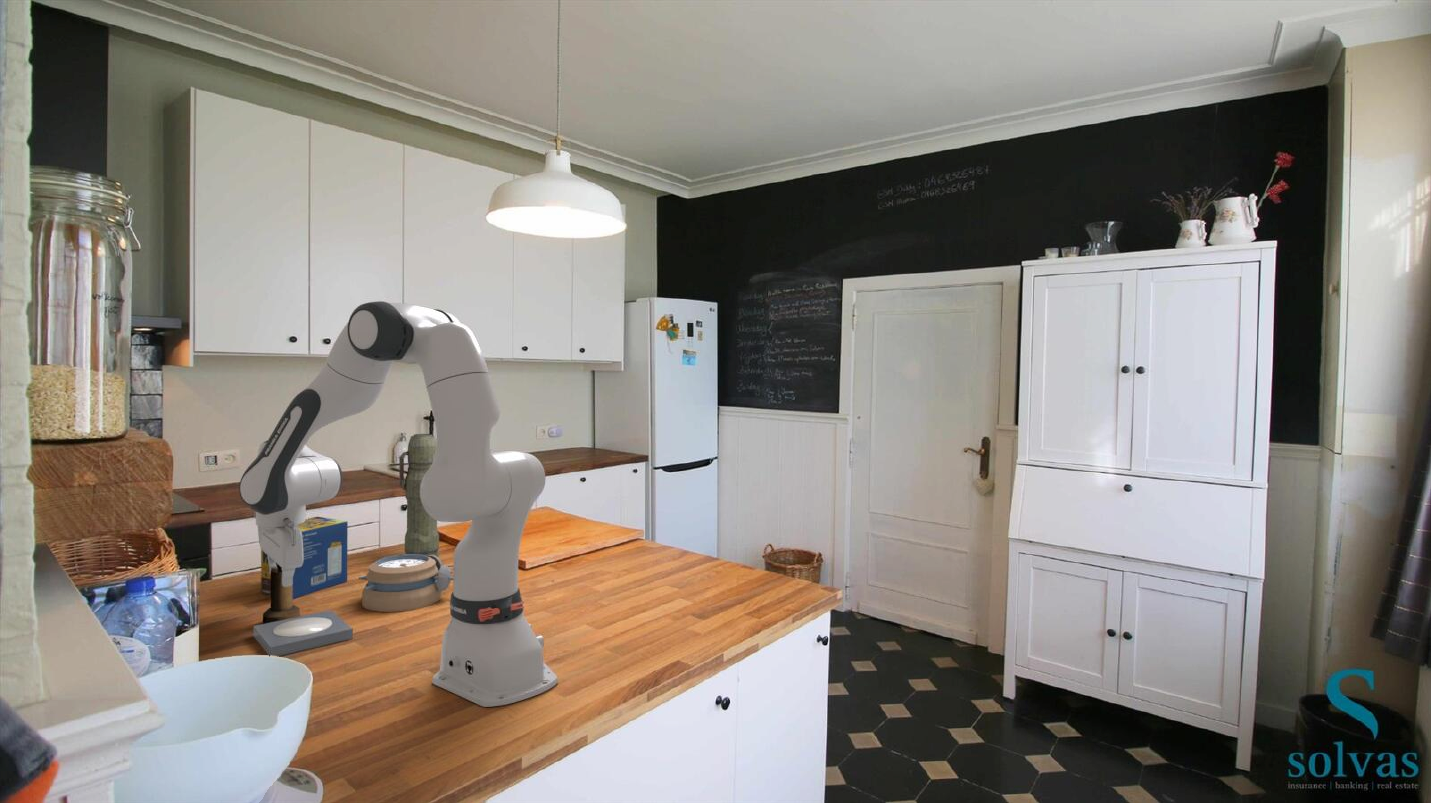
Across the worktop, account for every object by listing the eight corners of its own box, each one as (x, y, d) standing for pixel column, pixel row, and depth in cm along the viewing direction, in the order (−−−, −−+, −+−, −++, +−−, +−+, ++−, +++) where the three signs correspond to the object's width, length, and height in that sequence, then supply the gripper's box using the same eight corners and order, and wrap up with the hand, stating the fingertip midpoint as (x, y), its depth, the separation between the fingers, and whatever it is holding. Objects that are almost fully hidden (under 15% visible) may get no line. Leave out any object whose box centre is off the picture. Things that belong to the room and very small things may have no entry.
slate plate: (352, 638, 137) (352, 627, 137) (270, 658, 127) (270, 646, 127) (331, 619, 147) (331, 609, 147) (253, 636, 137) (253, 625, 137)
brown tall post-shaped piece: (295, 614, 150) (295, 531, 149) (303, 622, 145) (303, 537, 144) (259, 621, 145) (259, 536, 144) (266, 630, 141) (266, 542, 140)
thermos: (395, 557, 195) (395, 434, 194) (438, 551, 202) (439, 432, 201) (403, 565, 188) (404, 436, 187) (448, 558, 195) (449, 435, 194)
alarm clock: (356, 556, 163) (457, 544, 176) (355, 595, 163) (457, 580, 176) (367, 575, 149) (476, 560, 162) (367, 617, 149) (476, 599, 162)
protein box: (259, 593, 162) (259, 528, 162) (318, 576, 177) (318, 515, 176) (291, 600, 159) (291, 533, 158) (348, 581, 173) (348, 520, 172)
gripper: (312, 521, 139) (312, 589, 140) (285, 505, 154) (285, 566, 154) (276, 526, 135) (275, 595, 135) (252, 508, 149) (252, 571, 150)
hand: (280, 580), depth 145 cm, fingers open, 8 cm apart
